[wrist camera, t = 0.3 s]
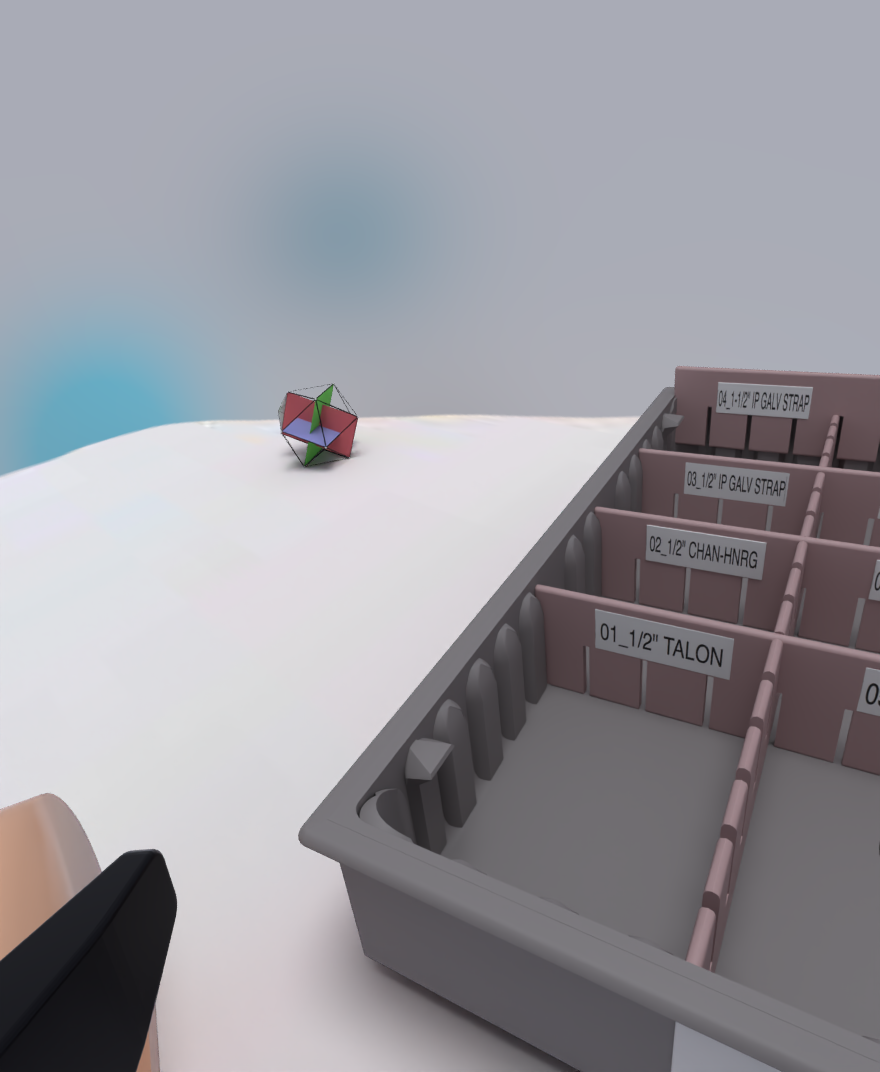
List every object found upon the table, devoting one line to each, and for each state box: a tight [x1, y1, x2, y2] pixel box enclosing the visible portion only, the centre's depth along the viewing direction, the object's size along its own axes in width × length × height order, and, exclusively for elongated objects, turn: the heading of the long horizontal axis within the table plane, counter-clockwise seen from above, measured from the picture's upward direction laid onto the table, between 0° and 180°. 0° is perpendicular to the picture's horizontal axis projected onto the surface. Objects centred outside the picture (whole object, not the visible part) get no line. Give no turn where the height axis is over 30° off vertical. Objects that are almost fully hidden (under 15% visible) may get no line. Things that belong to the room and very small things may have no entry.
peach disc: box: [0, 793, 160, 1072], centre depth 20 cm, size 9×3×10 cm, turn 23°
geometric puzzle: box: [278, 383, 359, 468], centre depth 64 cm, size 7×7×8 cm
